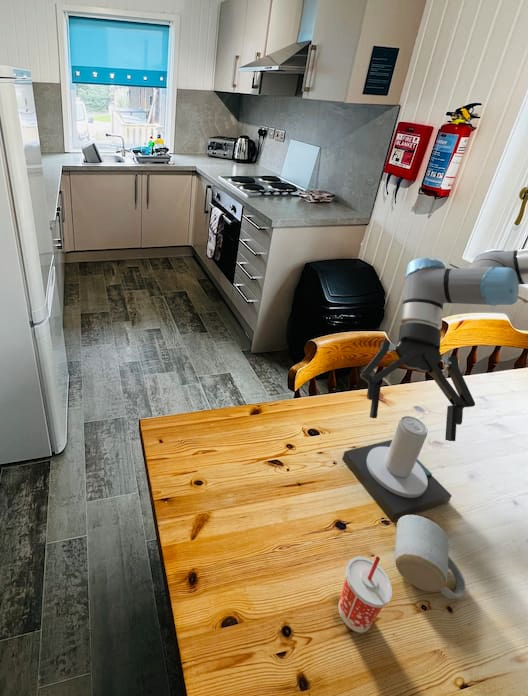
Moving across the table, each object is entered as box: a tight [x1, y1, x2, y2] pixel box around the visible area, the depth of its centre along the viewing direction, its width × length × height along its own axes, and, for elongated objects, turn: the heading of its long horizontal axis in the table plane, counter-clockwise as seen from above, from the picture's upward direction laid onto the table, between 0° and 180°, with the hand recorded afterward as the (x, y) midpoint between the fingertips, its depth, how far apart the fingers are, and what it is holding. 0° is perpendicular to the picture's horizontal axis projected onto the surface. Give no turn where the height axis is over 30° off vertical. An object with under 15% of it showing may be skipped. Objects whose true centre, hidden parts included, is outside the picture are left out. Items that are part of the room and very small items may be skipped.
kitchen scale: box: [341, 439, 452, 522], centre depth 82 cm, size 14×14×3 cm
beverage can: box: [385, 415, 429, 477], centre depth 79 cm, size 5×5×12 cm
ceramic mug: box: [394, 514, 467, 600], centre depth 65 cm, size 11×8×8 cm
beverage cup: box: [337, 556, 393, 634], centre depth 58 cm, size 6×6×14 cm
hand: (410, 428), depth 78 cm, fingers open, 13 cm apart
